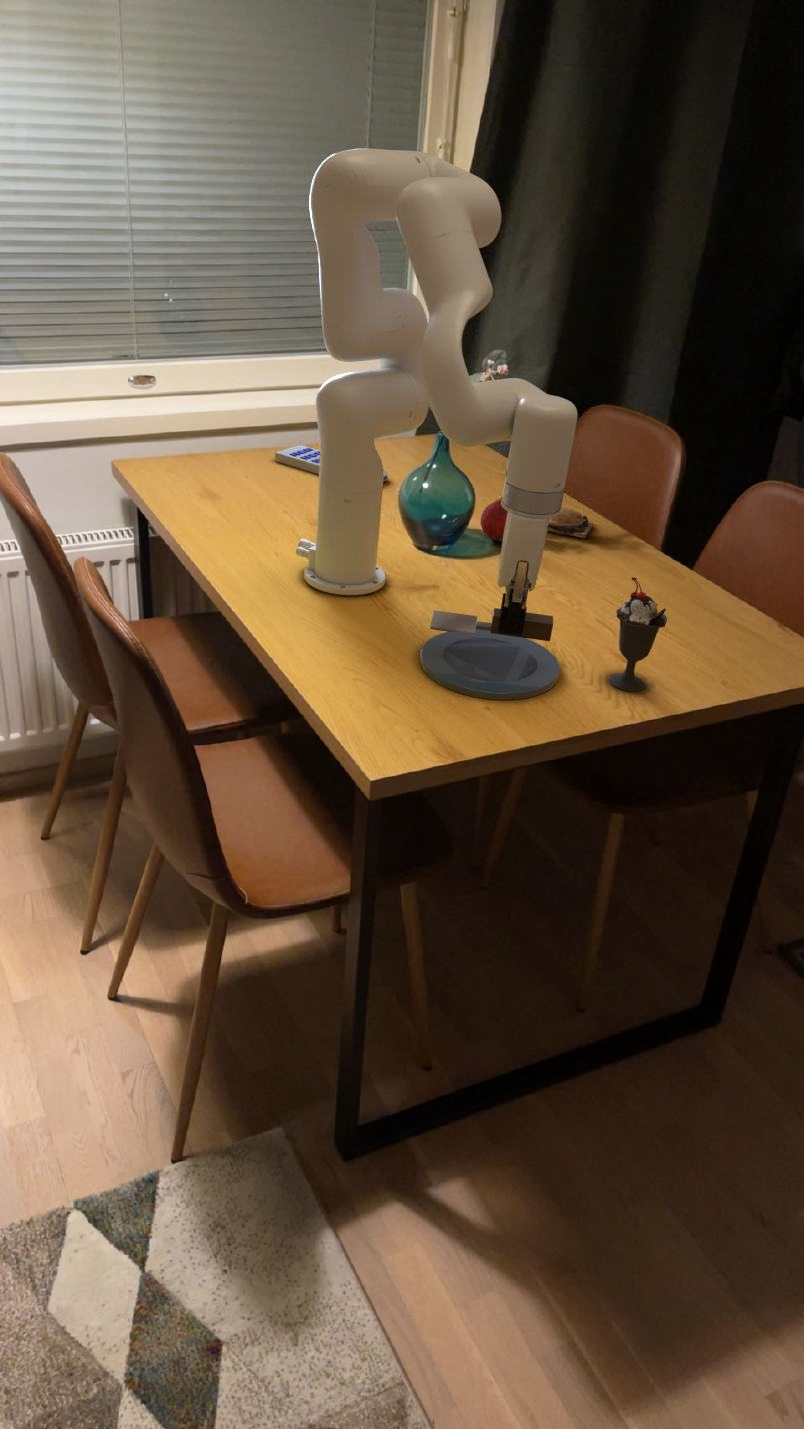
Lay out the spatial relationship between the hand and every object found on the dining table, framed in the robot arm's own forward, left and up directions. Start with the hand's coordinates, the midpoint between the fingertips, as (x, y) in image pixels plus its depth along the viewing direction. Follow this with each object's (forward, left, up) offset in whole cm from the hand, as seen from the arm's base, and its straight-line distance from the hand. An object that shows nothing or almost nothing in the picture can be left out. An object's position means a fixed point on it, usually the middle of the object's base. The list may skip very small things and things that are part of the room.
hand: (510, 626), depth 151 cm
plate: (-2, -1, -6) cm, 6 cm away
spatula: (-2, -1, -1) cm, 3 cm away
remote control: (-65, +53, -6) cm, 84 cm away
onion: (-23, +42, -6) cm, 48 cm away
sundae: (+15, +7, -6) cm, 18 cm away
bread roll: (-17, +57, -6) cm, 59 cm away
